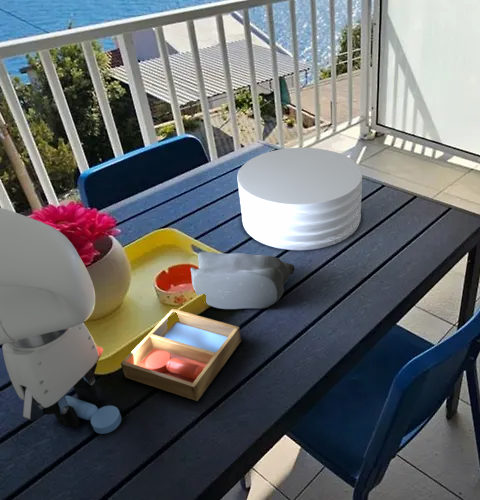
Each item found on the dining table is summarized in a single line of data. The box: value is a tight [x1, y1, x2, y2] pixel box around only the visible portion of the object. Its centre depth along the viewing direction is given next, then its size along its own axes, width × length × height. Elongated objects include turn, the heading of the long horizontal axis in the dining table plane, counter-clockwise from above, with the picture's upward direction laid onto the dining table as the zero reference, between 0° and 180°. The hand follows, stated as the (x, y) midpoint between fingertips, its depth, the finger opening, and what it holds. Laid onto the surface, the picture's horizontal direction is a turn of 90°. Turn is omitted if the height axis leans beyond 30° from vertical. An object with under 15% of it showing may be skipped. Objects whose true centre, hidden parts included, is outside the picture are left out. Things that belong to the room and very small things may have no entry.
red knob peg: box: [146, 351, 204, 380], centre depth 78 cm, size 10×4×2 cm, turn 71°
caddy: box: [120, 308, 242, 402], centre depth 81 cm, size 13×13×3 cm
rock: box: [190, 251, 296, 310], centre depth 94 cm, size 18×11×8 cm, turn 89°
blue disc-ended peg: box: [65, 395, 122, 435], centre depth 72 cm, size 10×4×2 cm, turn 71°
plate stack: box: [236, 147, 363, 251], centre depth 116 cm, size 28×28×12 cm
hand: (80, 411), depth 73 cm, fingers open, 3 cm apart
